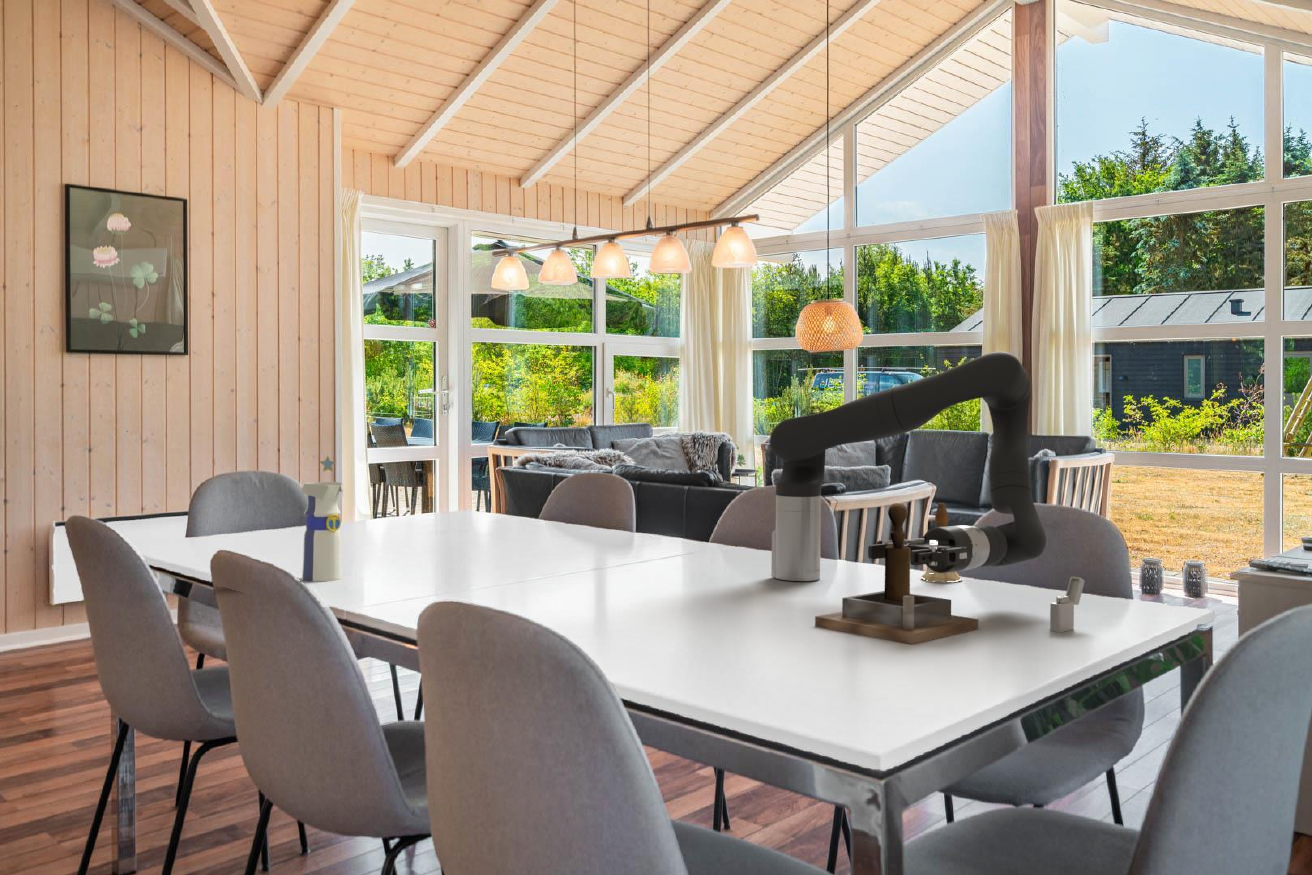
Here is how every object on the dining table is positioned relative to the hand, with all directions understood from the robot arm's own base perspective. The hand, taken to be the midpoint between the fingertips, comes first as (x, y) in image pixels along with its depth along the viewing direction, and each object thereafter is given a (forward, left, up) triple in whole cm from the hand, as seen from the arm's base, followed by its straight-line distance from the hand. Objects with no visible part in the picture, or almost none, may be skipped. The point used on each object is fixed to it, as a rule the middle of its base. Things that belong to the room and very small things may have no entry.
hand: (890, 555), depth 163 cm
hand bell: (-24, +51, -12) cm, 58 cm away
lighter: (+18, +21, -12) cm, 30 cm away
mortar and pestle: (0, +2, -10) cm, 10 cm away
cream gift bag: (-105, -46, -12) cm, 115 cm away
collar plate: (0, +1, -11) cm, 12 cm away
